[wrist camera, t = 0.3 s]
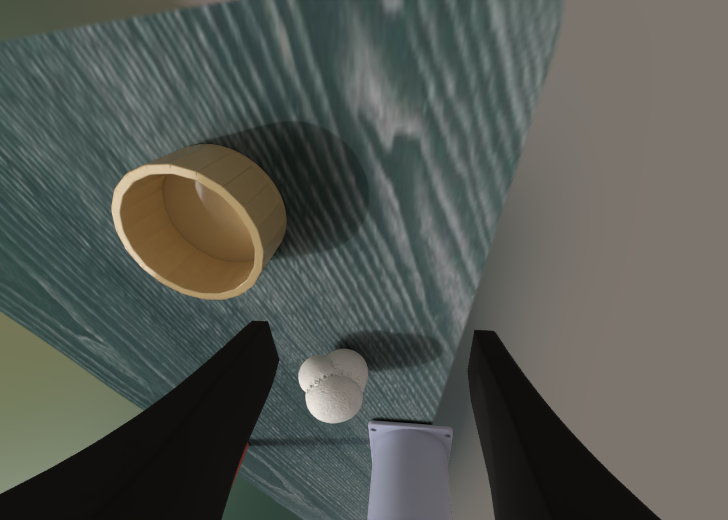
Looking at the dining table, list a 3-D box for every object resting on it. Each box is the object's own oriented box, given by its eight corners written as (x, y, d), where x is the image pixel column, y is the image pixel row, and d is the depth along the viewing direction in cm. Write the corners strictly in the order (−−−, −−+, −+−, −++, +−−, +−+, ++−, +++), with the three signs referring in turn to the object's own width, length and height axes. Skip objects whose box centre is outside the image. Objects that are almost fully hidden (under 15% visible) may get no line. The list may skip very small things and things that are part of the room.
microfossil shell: (361, 379, 28) (351, 443, 24) (302, 362, 28) (281, 424, 23) (375, 346, 26) (368, 410, 21) (311, 328, 26) (290, 389, 21)
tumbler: (297, 264, 22) (277, 301, 19) (188, 262, 23) (151, 298, 20) (271, 140, 18) (239, 161, 14) (138, 146, 19) (80, 166, 16)
